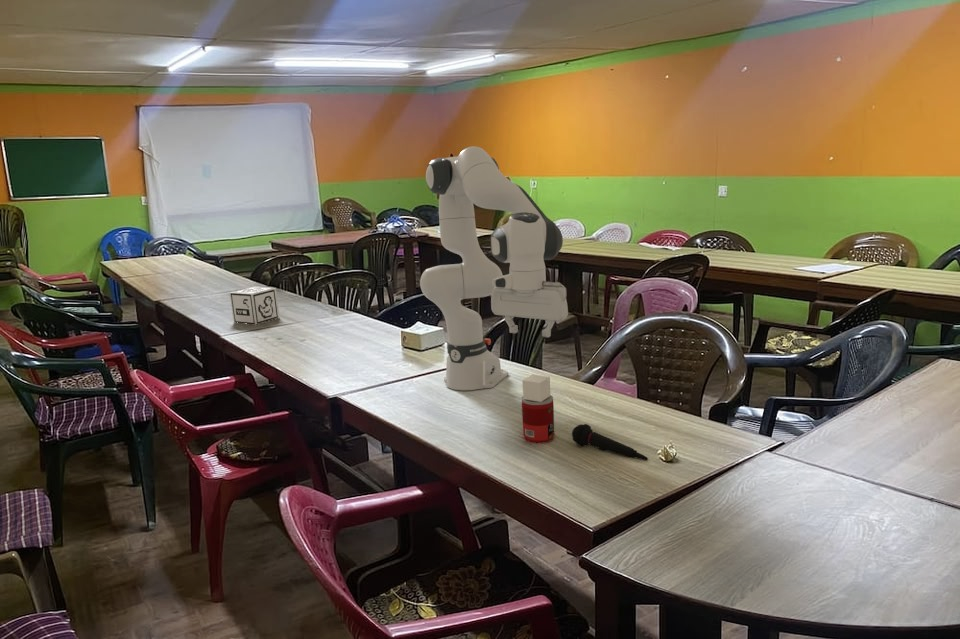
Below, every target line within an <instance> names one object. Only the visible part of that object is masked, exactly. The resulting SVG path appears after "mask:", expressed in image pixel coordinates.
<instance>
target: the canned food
mask: <svg viewBox="0 0 960 639" xmlns="http://www.w3.org/2000/svg"><path fill="white" fill-rule="evenodd" d="M550 395H551V396H549V397H548V398H546V399H545V400H543V401H542V402H538V401H532V400H526V399H523V396H522V397H521V412H522V413H521V416H522V418H521V419H522V433H523V438H524V440H525V441H526V442H528V443H530V444H531V443H532V444H545V443H549V442H551V441H553V440H554V438H555V410H554V408H555V407H554V404H555V403H554V397H553V395H552V394H550Z"/></svg>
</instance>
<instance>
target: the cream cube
mask: <svg viewBox="0 0 960 639" xmlns="http://www.w3.org/2000/svg"><path fill="white" fill-rule="evenodd" d="M522 395H523V396H522V397H523V399H526V400H532V401H538V402H542V401H543V400H545V399H546V398H548V397H549V396H551V395H552V394H551V376H547V375H538V374H531V375H529V376H527V377H526V378H524V379H522Z"/></svg>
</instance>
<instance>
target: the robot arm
mask: <svg viewBox="0 0 960 639" xmlns="http://www.w3.org/2000/svg"><path fill="white" fill-rule="evenodd" d="M425 171H426V173H425V181H426V184H427V188H428V189H429V190H430V192H432V193H433V194H436V195H439V197H438V217H439V218H438V221H439V232H440V233H439V235H440V242H441V245H442V247H443V248H444V249H446V250H447V251H449V252H451V253H453V254H457V255H459V256H460V257H461V259H462V262H461V263H454V264H440V265H435V266H431V267H428V268H426V269H425V270H424V271H423V272H422V274H421V276H420V280H419V286H420V290H421V292H422V294H423V296H424V297H426V298H427V299H428V300H429V301H431V302H432V303H433V304H435V305H436V306H437V307H438V309H439V310H440V311H441V312H442V315H443V318H444V321H445V323H446V324H445V325H446V330H447V339H448V340H447V342H446V350H447V354H448V356H446V363H445V364H446V366H445V367H446V368H445V373H446V374H445V376H444V377H443V378H444V379H443V380H444V382H445V386H446V387H447V388H449V389H450V390H454V391H455V390H456V391H474V390H475V391H476V390H480V389H481V390H482V389H492V388H494V387H495V386H496V385H498V384H499V383H500V382H502V381H503V380H504V379H505V378H506V377H508V375H509V371H508V370H506V369H502V368H501V366H502V365H501V360H500V358H499V357H498V356H497V355H495V354H494V353H493V352H491V351H490V350H488V346H489V345H490V346H491V343H492V341H491V338H486V337H485V338H484V336H483V335H484V333H483V332H484V331H483V320H482V316H481V315H480V314H479V312H478V311H475V310H473V309H470V308H468V307H466V306H464V305H463V304H462V302H461V301H462V300H465V299H475V298H476V299H477V298H485V297H489V296H490V298H491V300H490V307H491V311H492V313H493V314H494V315H496V316H502V317H503V316H504V321H505V322H506V324H507V325H508V328H509V329H508V330H509V333H510V334H517V333H518V331H519V329H518V328H519V326H518V325H517V324H515V322H514V318H515V317H516V318H523V319H524V318H525V319H531V320H532V319H533V320H542V321H543V320H544V321H545V325H546V327H545V328H544V329H542V331H541V336H542V338H550V337H551V335H552V334H551V333H552V332H551V331H552V328H553V326H554V325H555V323H556V322H561V321H563V320H564V321H565V319H566V318H567V317H568V315H569V309H568V302H567V288H566V286H564V285H563V284H562V283H561V282H559V281H556V282H553V281H547V279H546V278H547V277H546V274H547V273H546V264H545V261H551V260H553V259H554V258H556V256H557V255H558V254H559V252H560V251H561V249H562V247H563V242H564V240H563V234H562V232H561V229H560V228H559V226H558V225H557V224H556V223H555V222H554V221H553V220H552V219H550V218H548V216H547V215H546V214H545V213H544V212H543V210H542V209H541V208H540V206H538V204H537V203H536V202H535V201H534V199H532V197H531V196H530V195H529V193H528V192H527V191H526V190H525V189H524V188H522V186H520V185H518V184H517V183H514V182H513V181H512V180H510V179H509V178H507V177H506V176H505V175H504V174H503V173H502V172H501V171H500V167H499V164H498V162H497V160H496V159H495V158H494V157H491V156H490V154H489V153H488V152H486V150H484V148H482V147H479V146H474V145H473V146H468V147H466V148H464V149H463V150H462V151H460V153H459V154H458V156H450V157H449V156H448V157H438V158H434V159H431V161H430V162H429V163H428V164H427V165H426V170H425ZM474 205H475V206H477V207H479V208H482V209H487V210H496V211H503V212H508V213H513V214H511V215H510V216H509V218H508V220H507V222H506V223H504V224H503V225H500V226H497V227H496V228H495V229H494V230H493V231H492V233H491V234H490V238H489V245H490V247H489V248H490V253H491V256H492V257H493V258H495V259H496V260H497V261H498V262H500V263H504V264H508V263H509V269H508V270H509V271H508V272H509V273H505V274H504V275H503V272H502V270H501V268H500V267H499V266H498V265H497V264H496V263H495V262H494V261H492V260H491V259H489V258H488V257H487V256H486V254H485V253H484V252H483V250H482V249H481V247H480V244H479V243H480V242H479V240H478V235H477V227H476V226H477V225H476V218H475V215H476V214H475V208H474Z"/></svg>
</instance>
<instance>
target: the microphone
mask: <svg viewBox="0 0 960 639" xmlns="http://www.w3.org/2000/svg"><path fill="white" fill-rule="evenodd" d="M571 437H572V441H574V442H575V443H576V445H577V446H579V447H584V446H588V445H589V446H591V447H594V448H598V449H599V450H601V451H603V452H605V451H607V452H611V453H614V454H617V455H620V456H623V457H627V458H632V459H634V458H636V459H639V460H644V461H648V460H649V457H647V456H645V455H643V454H642V453H640V452H638V450H635V449H634V448H633V447H630V446H629V445H628V446H627V445H626V444H623V443H622V442H621V443H620V442H619V441H616V440H613V439H612V438H610V437H608V436H605V435H602V434H600V433H598V432H596V431H594V430H593V429H592V428H591V426H590V425H589V424H588V423H584V424H578V425H576V426H575V427H573V430H572V433H571Z"/></svg>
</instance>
